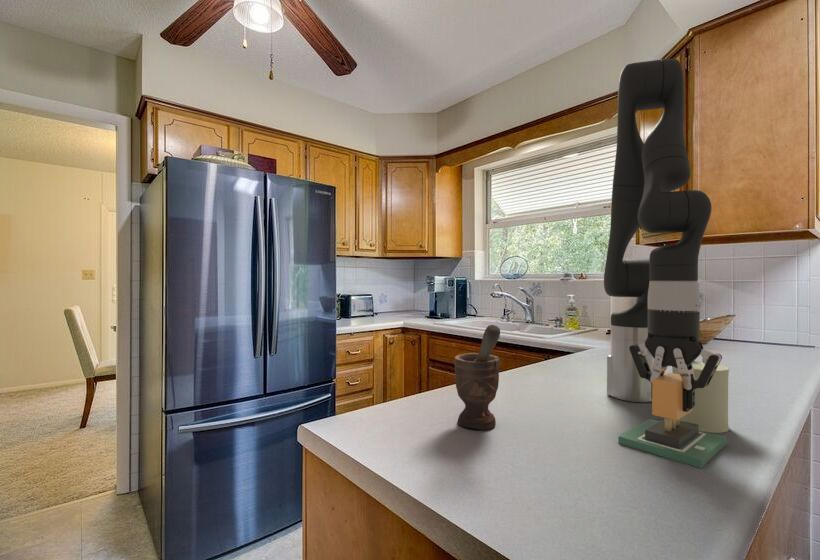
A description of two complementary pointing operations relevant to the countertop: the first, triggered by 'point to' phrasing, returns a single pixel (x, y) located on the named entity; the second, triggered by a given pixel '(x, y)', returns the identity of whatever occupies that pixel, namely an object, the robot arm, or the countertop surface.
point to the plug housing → (668, 396)
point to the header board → (672, 454)
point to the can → (710, 401)
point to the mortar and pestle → (478, 382)
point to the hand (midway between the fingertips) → (672, 407)
